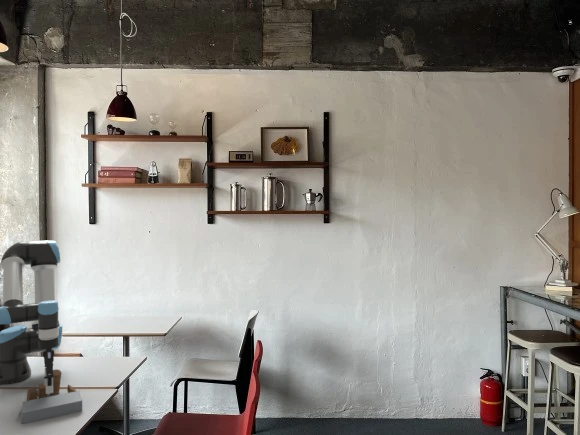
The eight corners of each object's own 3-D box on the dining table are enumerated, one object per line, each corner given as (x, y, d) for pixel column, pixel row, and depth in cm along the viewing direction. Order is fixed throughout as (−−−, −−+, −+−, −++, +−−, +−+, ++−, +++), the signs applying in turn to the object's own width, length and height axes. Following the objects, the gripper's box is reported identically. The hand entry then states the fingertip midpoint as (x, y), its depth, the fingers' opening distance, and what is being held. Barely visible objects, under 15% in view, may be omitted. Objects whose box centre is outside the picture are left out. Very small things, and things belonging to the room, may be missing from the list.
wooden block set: (29, 411, 175) (31, 391, 171) (23, 397, 180) (24, 377, 177) (76, 396, 187) (79, 377, 184) (69, 383, 193) (71, 364, 190)
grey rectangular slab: (22, 412, 169) (22, 401, 169) (79, 400, 179) (79, 390, 179) (21, 423, 159) (21, 412, 159) (82, 410, 170) (82, 400, 170)
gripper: (37, 332, 194) (38, 379, 194) (38, 346, 172) (39, 400, 172) (56, 329, 198) (57, 376, 198) (60, 343, 176) (60, 395, 176)
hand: (49, 387), depth 185 cm, fingers open, 13 cm apart
